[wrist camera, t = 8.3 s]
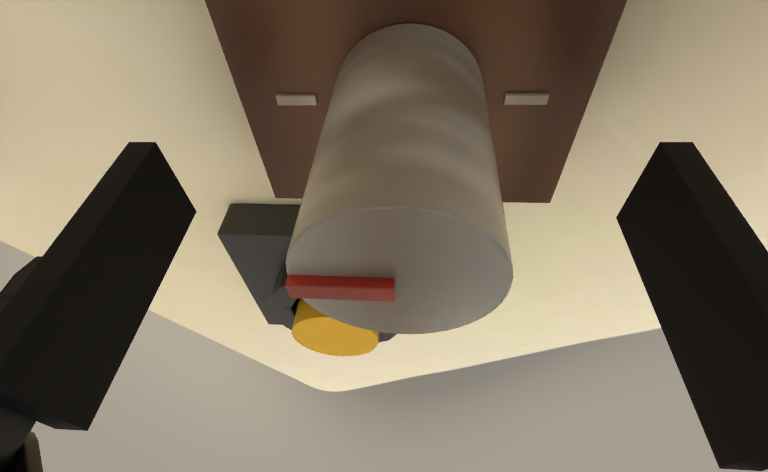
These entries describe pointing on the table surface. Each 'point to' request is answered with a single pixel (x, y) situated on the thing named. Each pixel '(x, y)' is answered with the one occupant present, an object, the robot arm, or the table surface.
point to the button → (330, 333)
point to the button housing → (265, 256)
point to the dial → (403, 192)
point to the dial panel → (440, 10)
